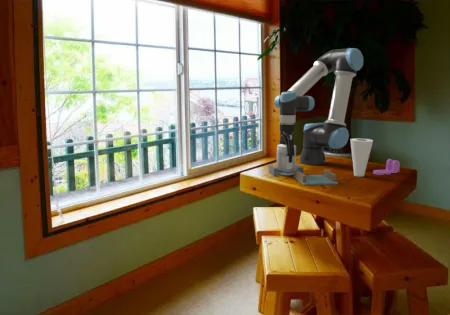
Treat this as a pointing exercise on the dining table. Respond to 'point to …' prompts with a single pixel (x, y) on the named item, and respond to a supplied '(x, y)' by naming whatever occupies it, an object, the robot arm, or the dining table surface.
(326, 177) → the docking bay
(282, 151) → the supplement tub
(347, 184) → the dining table surface
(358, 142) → the cup
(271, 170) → the holder
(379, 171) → the bracket
